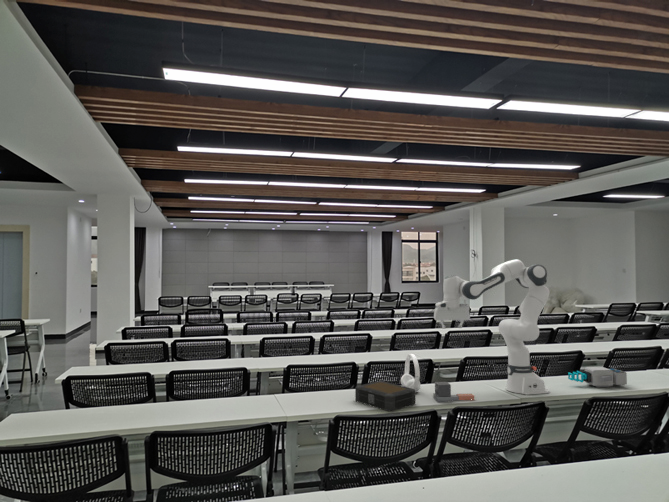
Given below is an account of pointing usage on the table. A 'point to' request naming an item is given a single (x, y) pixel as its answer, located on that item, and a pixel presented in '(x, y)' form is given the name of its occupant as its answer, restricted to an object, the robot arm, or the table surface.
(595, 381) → the toy
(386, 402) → the cash box
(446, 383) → the dark grey cube
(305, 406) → the table surface
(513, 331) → the robot arm
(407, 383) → the headphones
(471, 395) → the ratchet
